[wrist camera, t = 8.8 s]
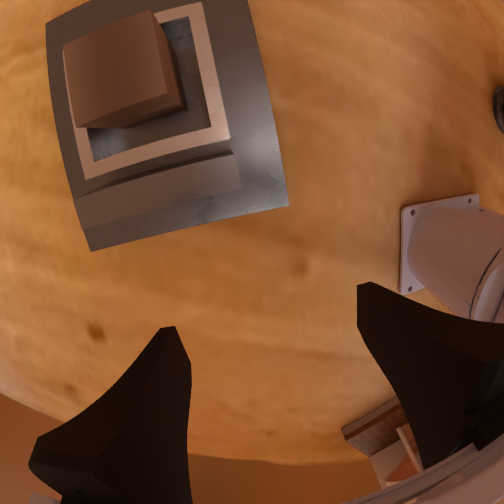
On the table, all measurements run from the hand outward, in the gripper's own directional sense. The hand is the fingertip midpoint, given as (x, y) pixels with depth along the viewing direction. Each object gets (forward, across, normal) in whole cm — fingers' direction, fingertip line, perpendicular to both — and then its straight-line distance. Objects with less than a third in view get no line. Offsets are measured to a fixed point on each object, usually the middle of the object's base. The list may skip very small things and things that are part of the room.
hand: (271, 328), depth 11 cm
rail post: (+9, +4, -11) cm, 15 cm away
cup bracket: (+10, +4, -11) cm, 16 cm away
